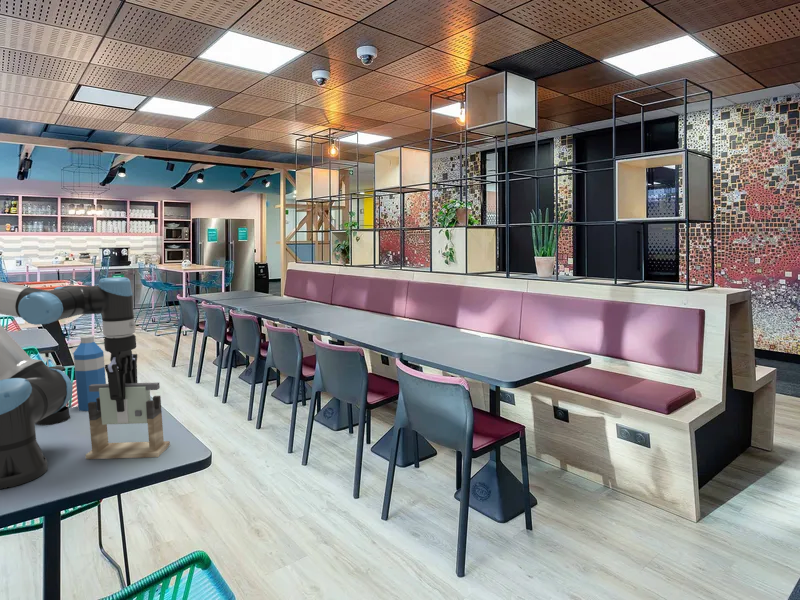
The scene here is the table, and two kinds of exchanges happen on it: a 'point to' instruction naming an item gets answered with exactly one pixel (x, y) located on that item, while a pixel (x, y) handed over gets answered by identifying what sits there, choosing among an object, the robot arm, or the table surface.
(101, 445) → the hinge frame
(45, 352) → the french press
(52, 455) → the table surface
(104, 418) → the hanging file folder
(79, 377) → the water bottle
